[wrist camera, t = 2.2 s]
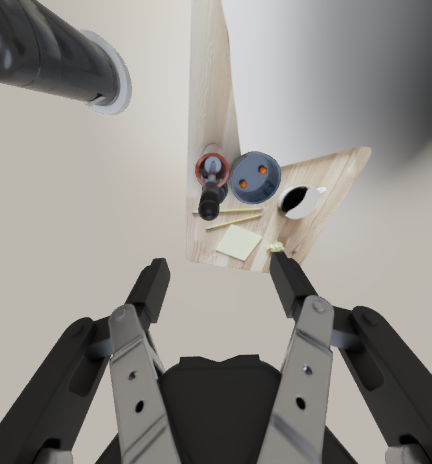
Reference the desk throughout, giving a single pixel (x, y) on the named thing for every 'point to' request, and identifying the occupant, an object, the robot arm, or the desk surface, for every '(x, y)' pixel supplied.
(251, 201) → the bowl
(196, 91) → the desk surface
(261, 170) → the bead
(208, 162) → the ladle
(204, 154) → the crock
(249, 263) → the desk surface
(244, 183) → the bead
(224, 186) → the pill bottle
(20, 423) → the robot arm
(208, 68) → the desk surface
